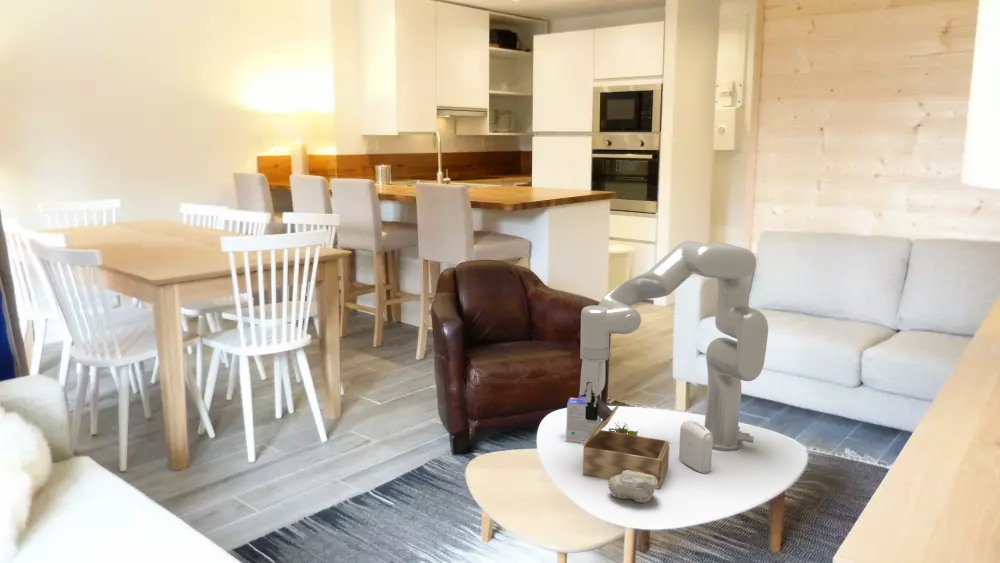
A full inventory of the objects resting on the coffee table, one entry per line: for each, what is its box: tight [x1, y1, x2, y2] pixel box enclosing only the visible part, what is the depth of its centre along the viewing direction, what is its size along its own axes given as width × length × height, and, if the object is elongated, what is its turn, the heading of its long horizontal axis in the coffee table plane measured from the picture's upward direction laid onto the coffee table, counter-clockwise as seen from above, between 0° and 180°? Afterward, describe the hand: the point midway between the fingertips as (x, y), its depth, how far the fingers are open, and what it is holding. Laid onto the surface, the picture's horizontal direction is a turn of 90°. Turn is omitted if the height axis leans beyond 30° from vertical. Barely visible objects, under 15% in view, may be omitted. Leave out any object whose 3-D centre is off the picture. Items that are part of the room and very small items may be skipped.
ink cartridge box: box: [565, 390, 602, 444], centre depth 222 cm, size 10×6×14 cm, turn 79°
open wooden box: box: [582, 429, 670, 490], centre depth 203 cm, size 21×13×8 cm, turn 69°
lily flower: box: [608, 421, 638, 436], centre depth 226 cm, size 12×12×5 cm
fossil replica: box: [607, 470, 660, 504], centre depth 188 cm, size 12×8×10 cm
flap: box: [582, 394, 619, 447], centre depth 204 cm, size 10×13×8 cm
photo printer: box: [678, 420, 713, 474], centre depth 206 cm, size 10×4×12 cm, turn 26°
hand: (593, 416), depth 204 cm, fingers closed on flap, 3 cm apart
